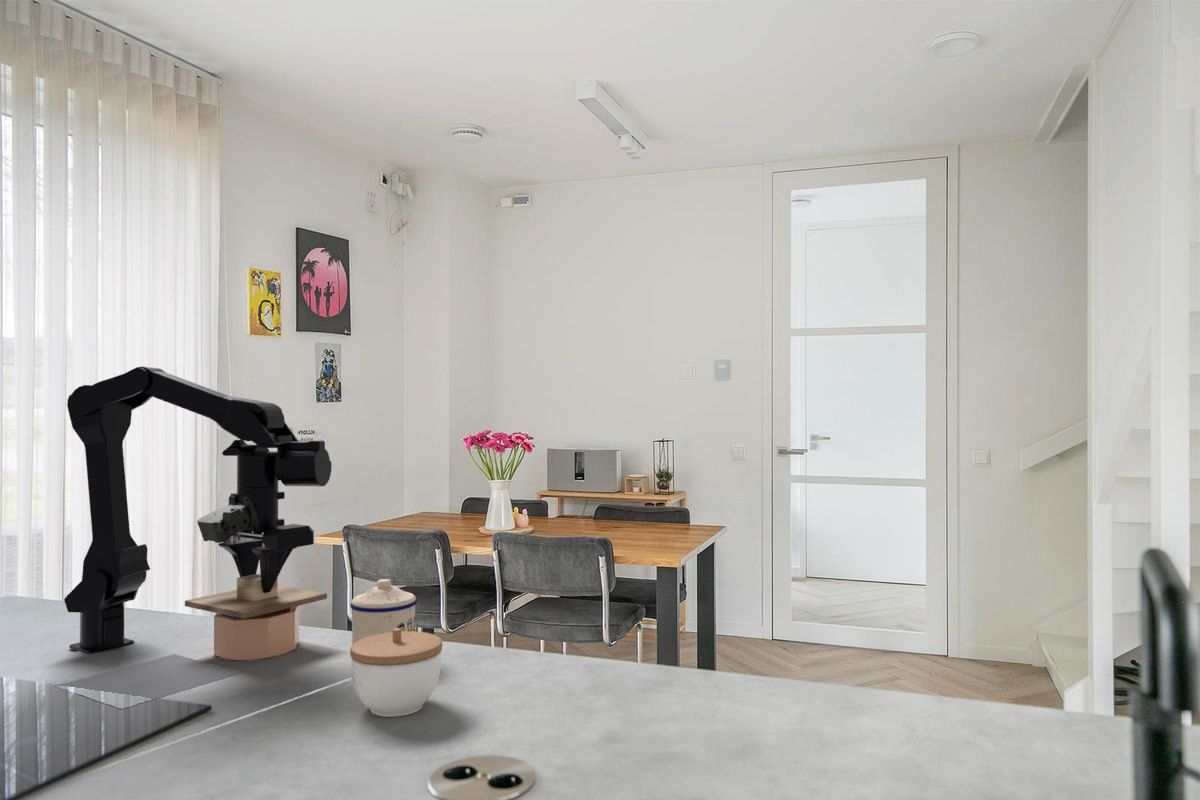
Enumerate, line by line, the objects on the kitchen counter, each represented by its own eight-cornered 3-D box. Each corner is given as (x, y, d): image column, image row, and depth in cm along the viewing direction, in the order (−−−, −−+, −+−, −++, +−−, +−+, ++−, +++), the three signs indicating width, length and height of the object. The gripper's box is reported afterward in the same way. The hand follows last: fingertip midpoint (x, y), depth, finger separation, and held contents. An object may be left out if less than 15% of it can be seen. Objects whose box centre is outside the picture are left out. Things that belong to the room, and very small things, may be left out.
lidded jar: (419, 728, 91) (419, 644, 91) (332, 721, 93) (332, 639, 93) (455, 695, 101) (455, 620, 101) (376, 689, 103) (376, 616, 104)
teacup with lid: (400, 674, 109) (400, 588, 109) (338, 670, 111) (338, 585, 111) (434, 649, 121) (434, 571, 121) (378, 645, 123) (378, 569, 123)
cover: (184, 606, 118) (184, 580, 118) (268, 588, 130) (268, 564, 130) (244, 618, 111) (244, 591, 111) (326, 598, 123) (327, 573, 123)
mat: (53, 688, 104) (53, 685, 104) (174, 656, 118) (174, 654, 118) (121, 711, 96) (121, 709, 96) (242, 674, 110) (242, 672, 110)
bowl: (200, 654, 119) (200, 613, 119) (266, 636, 128) (266, 598, 128) (247, 666, 113) (247, 623, 113) (312, 646, 122) (312, 607, 122)
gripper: (169, 487, 119) (168, 593, 119) (248, 494, 109) (248, 610, 109) (237, 481, 128) (237, 580, 128) (316, 487, 119) (316, 594, 118)
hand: (257, 590), depth 121 cm, fingers closed on cover, 4 cm apart
